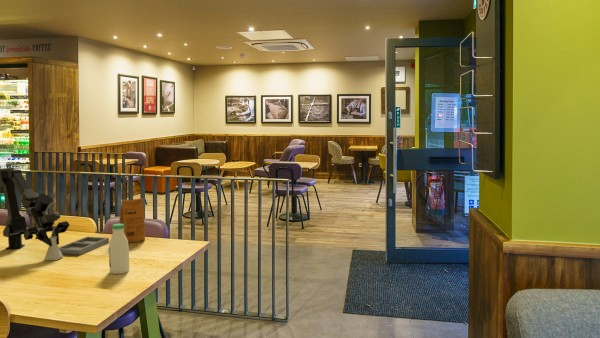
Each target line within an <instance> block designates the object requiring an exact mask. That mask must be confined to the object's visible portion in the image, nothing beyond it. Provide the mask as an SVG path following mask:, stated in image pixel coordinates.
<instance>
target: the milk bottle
mask: <svg viewBox="0 0 600 338" xmlns="http://www.w3.org/2000/svg"><path fill="white" fill-rule="evenodd" d="M111 229H112V230H111V231H112V235H111V238H109V243H108V259H109V260H108V262H109V263H108V264H109V273H110V274H114V275H119V274H121V275H122V274H125V273H128V272H129V271H130V247H129V243H128V240H127V238H126V236H125V234H124V224H119V223H113V224H112V226H111Z"/></svg>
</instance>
